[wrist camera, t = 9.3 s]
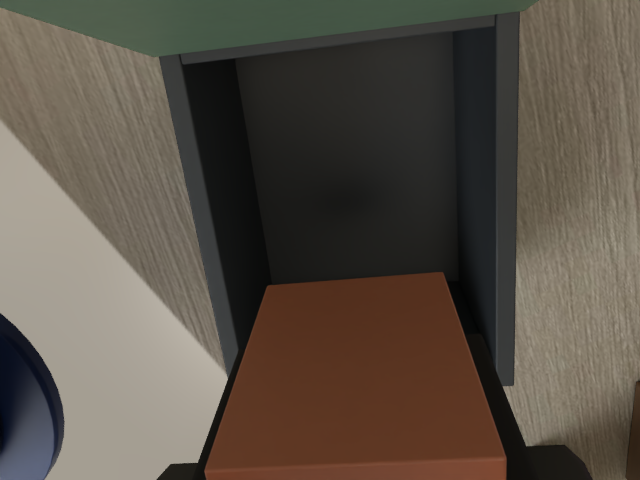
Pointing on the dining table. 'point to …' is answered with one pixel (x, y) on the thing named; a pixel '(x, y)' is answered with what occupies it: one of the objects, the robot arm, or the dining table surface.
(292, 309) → the block
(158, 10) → the bin lid
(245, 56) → the bin
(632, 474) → the stand
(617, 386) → the dining table surface
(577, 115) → the dining table surface
